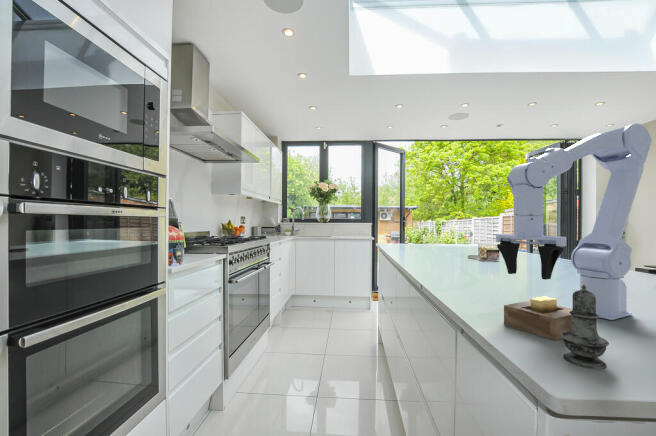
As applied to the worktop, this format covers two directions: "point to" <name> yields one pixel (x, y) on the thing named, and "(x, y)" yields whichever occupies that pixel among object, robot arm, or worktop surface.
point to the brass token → (543, 304)
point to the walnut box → (538, 320)
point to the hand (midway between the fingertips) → (528, 276)
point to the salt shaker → (584, 333)
